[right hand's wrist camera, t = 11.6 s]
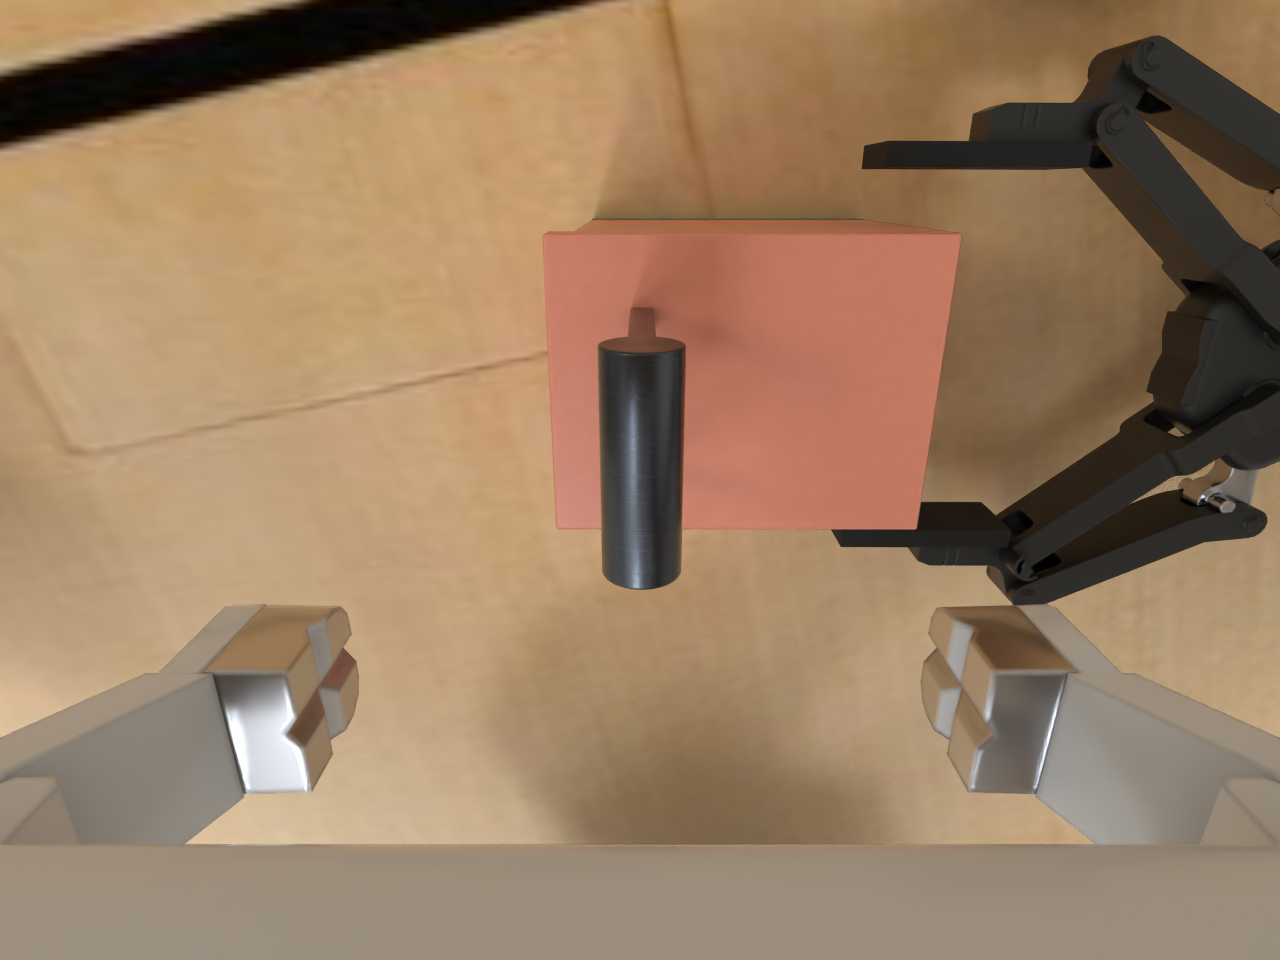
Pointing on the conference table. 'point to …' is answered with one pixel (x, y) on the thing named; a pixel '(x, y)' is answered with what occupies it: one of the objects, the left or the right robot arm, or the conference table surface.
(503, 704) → the conference table surface
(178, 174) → the conference table surface
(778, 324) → the lid
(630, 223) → the chest
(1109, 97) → the left robot arm
